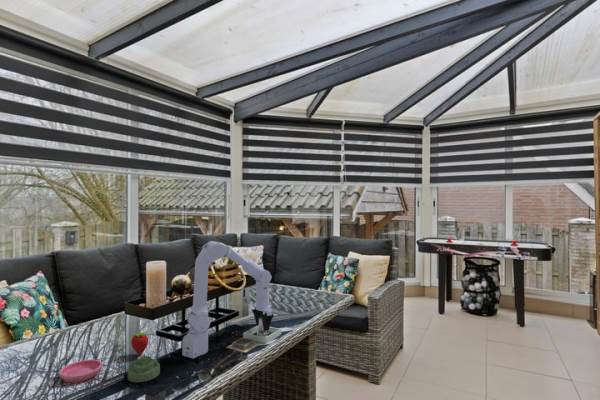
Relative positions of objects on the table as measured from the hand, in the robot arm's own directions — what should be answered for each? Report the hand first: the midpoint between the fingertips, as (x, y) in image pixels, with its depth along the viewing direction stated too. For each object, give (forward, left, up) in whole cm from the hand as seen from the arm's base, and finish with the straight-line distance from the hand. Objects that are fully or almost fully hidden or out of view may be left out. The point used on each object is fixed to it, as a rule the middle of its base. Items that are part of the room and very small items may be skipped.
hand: (262, 327), depth 148 cm
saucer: (-57, +35, -5) cm, 67 cm away
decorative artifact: (-46, +17, -5) cm, 49 cm away
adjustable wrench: (+18, +22, -5) cm, 29 cm away
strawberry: (-37, +32, -5) cm, 49 cm away
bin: (0, 0, -4) cm, 4 cm away
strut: (0, 0, -4) cm, 4 cm away
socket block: (-12, +1, -4) cm, 13 cm away
